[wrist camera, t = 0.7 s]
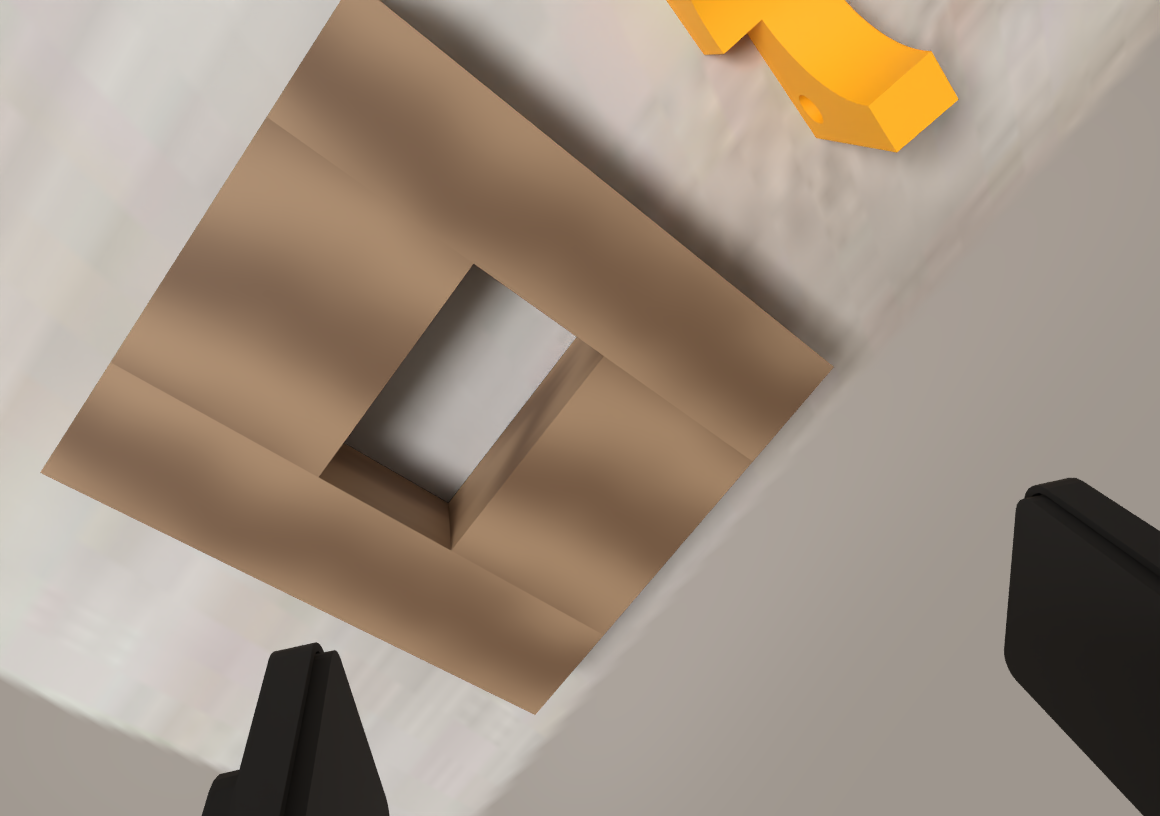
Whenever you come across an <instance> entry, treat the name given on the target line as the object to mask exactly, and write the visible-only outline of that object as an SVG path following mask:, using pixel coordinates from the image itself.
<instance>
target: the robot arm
mask: <svg viewBox="0 0 1160 816" xmlns="http://www.w3.org/2000/svg"><path fill="white" fill-rule="evenodd" d="M1004 655H1005V661H1006V664H1007V666H1008V668H1009V670H1010V672H1011V674H1012V676H1013V677H1014V678H1015V680H1016V681H1017V682H1018V683H1019V684H1020V685H1021V686H1022V687H1023V688H1024V689H1025V690H1026V691H1027V692H1028V693H1029V694H1030V696H1031V697H1032V698H1033V699H1034V700H1035V701H1036V702H1037V703H1038V704H1039V705H1040V706H1041V707H1042V708H1043V709H1044V710H1045V712H1046V713H1047V714H1048V715H1049V716H1050V717H1051V718H1052V719H1053V720H1054V721H1055V722H1056V723H1057V724H1058V725H1059V726H1060V727H1061V729H1062V730H1063V731H1064V732H1065V733H1066V734H1067V735H1068V736H1069V737H1070V738H1071V739H1072V740H1073V741H1074V742H1075V743H1076V744H1077V746H1079V748H1080V749H1081V750H1082V751H1083V752H1084V753H1085V754H1086V755H1087V756H1088V757H1089V758H1090V759H1091V760H1092V761H1093V762H1094V764H1096V766H1097V767H1098V768H1099V769H1100V770H1101V771H1102V772H1103V773H1104V774H1105V775H1106V776H1107V777H1108V778H1109V780H1111V782H1112V783H1113V784H1114V785H1115V786H1116V787H1117V788H1118V789H1119V790H1120V791H1121V792H1122V793H1123V794H1124V796H1125V797H1126V798H1127V799H1128V800H1129V801H1130V802H1131V803H1132V804H1133V805H1134V806H1135V807H1136V808H1137V809H1138V810H1139V811H1140V812H1141V814H1142V815H1143V816H1160V531H1159V530H1157V529H1156V528H1154V527H1153V526H1151V525H1149V524H1148V523H1146V522H1145V521H1143V520H1141V519H1140V518H1139V517H1137V516H1136V515H1134V514H1132V513H1131V512H1129V511H1128V510H1126V509H1125V508H1123V507H1122V506H1120V505H1118V504H1117V503H1116V502H1114V501H1113V500H1111V499H1109V498H1108V497H1106V496H1104V495H1103V494H1102V493H1100V492H1098V491H1097V490H1096V489H1094V488H1092V487H1091V486H1089V485H1088V484H1086V483H1085V482H1083V481H1081V480H1079V479H1077V478H1067V479H1062V480H1058V481H1053V482H1048V483H1044V484H1039V485H1035V486H1032V487H1031V488H1029V489H1028V490H1027V492H1026V494H1025V498H1024V499H1022V500H1020V501H1019V502H1018V504H1017V508H1016V514H1015V527H1014V538H1013V550H1012V563H1011V574H1010V587H1009V599H1008V610H1007V623H1006V634H1005V646H1004ZM202 816H389V809H388V804H387V800H386V796H385V793H384V790H383V787H382V784H381V781H380V778H379V775H378V772H377V769H376V766H375V763H374V760H373V756H372V753H371V750H370V747H369V744H368V741H367V738H366V735H365V732H364V729H363V726H362V723H361V720H360V717H359V714H358V711H357V708H356V704H355V701H354V698H353V695H352V692H351V689H350V686H349V683H348V680H347V677H346V674H345V671H344V668H343V665H342V662H341V659H340V656H339V654H338V652H337V651H335V650H333V651H329V652H324V651H323V649H322V647H321V646H320V644H319V643H311V644H307V645H302V646H298V647H293V648H289V649H284V650H279V651H275V652H273V653H272V654H271V655H270V658H269V660H268V664H267V668H266V672H265V676H264V679H263V683H262V687H261V691H260V694H259V698H258V702H257V706H256V709H255V713H254V717H253V721H252V725H251V728H250V732H249V736H248V740H247V743H246V747H245V751H244V755H243V758H242V762H241V766H240V770H236V771H232V772H227V773H223V774H219V775H218V776H217V777H216V779H215V780H214V781H213V783H212V786H211V788H210V790H209V793H208V796H207V800H206V803H205V806H204V810H203V813H202Z"/></svg>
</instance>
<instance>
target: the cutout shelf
mask: <svg viewBox="0 0 1160 816" xmlns="http://www.w3.org/2000/svg"><path fill="white" fill-rule="evenodd" d="M473 264H475V265H476V266H478V267H479V268H481V269H482V270H483V271H485V272H486V273H488V274H489V275H490V276H492V277H493V278H495V279H496V280H497V281H499V282H500V283H502V284H503V285H504V286H506V287H507V288H509V289H510V290H512V291H513V292H514V293H516V294H517V295H519V296H520V297H521V298H523V299H524V300H526V301H527V302H528V303H530V304H531V305H533V306H534V307H536V308H537V309H538V310H540V311H541V312H543V313H544V314H545V315H547V316H548V317H550V318H551V319H552V320H554V321H555V322H557V323H558V324H559V325H561V326H562V327H564V328H565V329H567V330H568V331H569V332H571V333H572V334H574V335H575V336H576V339H575V340H574V341H573V343H572V344H571V345H570V346H569V348H568V349H567V350H566V352H565V353H564V354H563V355H562V357H561V358H560V359H559V361H558V362H557V363H556V365H555V366H554V367H553V368H552V370H551V371H550V372H549V374H548V375H547V376H546V377H545V379H544V380H543V381H542V383H541V384H540V385H539V387H538V388H537V389H536V390H535V392H534V393H533V394H532V396H531V397H530V398H529V399H528V401H527V402H526V403H525V405H524V406H523V407H522V409H521V410H520V411H519V412H518V414H517V415H516V416H515V418H514V419H513V420H512V421H511V423H510V424H509V425H508V427H507V428H506V429H505V431H504V432H503V433H502V434H501V436H500V437H499V438H498V440H497V441H496V442H495V443H494V445H493V446H492V447H491V449H490V450H489V451H488V453H487V454H486V455H485V456H484V458H483V459H482V460H481V462H480V463H479V464H478V465H477V467H476V468H475V469H474V471H473V472H472V473H471V475H470V476H469V477H468V478H467V480H466V481H465V482H464V484H463V485H462V486H461V487H460V489H459V490H458V491H457V493H456V494H455V495H454V497H453V498H452V499H451V500H450V502H449V503H447V502H445V501H444V500H442V499H440V498H438V497H437V496H435V495H433V494H431V493H430V492H428V491H426V490H425V489H423V488H421V487H419V486H418V485H416V484H414V483H412V482H411V481H409V480H407V479H405V478H404V477H402V476H400V475H399V474H397V473H395V472H393V471H392V470H390V469H388V468H386V467H385V466H383V465H381V464H379V463H378V462H376V461H374V460H372V459H371V458H369V457H367V456H366V455H364V454H362V453H360V452H359V451H357V450H355V449H353V448H352V447H350V446H348V445H346V444H345V443H344V441H345V440H346V439H347V437H348V436H349V435H350V433H351V432H352V430H353V429H354V428H355V426H356V425H357V424H358V422H359V421H360V419H361V418H362V417H363V415H364V414H365V412H366V411H367V410H368V408H369V407H370V406H371V404H372V403H373V401H374V400H375V399H376V397H377V396H378V395H379V393H380V392H381V390H382V389H383V388H384V386H385V385H386V384H387V382H388V381H389V379H390V378H391V377H392V375H393V374H394V373H395V371H396V370H397V368H398V367H399V366H400V364H401V363H402V361H403V360H404V359H405V357H406V356H407V355H408V353H409V352H410V350H411V349H412V348H413V346H414V345H415V344H416V342H417V341H418V339H419V338H420V337H421V335H422V334H423V333H424V331H425V330H426V328H427V327H428V326H429V324H430V323H431V322H432V320H433V319H434V317H435V316H436V315H437V313H438V312H439V310H440V309H441V308H442V306H443V305H444V304H445V302H446V301H447V299H448V298H449V297H450V295H451V294H452V293H453V291H454V290H455V288H456V287H457V286H458V284H459V283H460V282H461V280H462V279H463V277H464V276H465V275H466V273H467V272H468V270H469V269H470V268H471V266H472V265H473ZM832 369H833V366H832V365H831V364H830V363H828V362H827V361H826V360H825V359H823V358H822V357H821V356H820V355H818V354H817V353H816V352H815V351H813V350H812V349H811V348H810V347H808V346H807V345H806V344H805V343H804V342H802V341H801V340H800V339H799V338H797V337H796V336H795V335H794V334H792V333H791V332H790V331H789V330H787V329H786V328H785V327H784V326H782V325H781V324H780V323H779V322H778V321H776V320H775V319H774V318H773V317H771V316H770V315H769V314H768V313H766V312H765V311H764V310H763V309H761V308H760V307H759V306H758V305H756V304H755V303H754V302H753V301H751V300H750V299H749V298H748V297H747V296H745V295H744V294H743V293H742V292H740V291H739V290H738V289H737V288H735V287H734V286H733V285H732V284H730V283H729V282H728V281H727V280H725V279H724V278H723V277H722V276H720V275H719V274H718V273H717V272H716V271H714V270H713V269H712V268H711V267H709V266H708V265H707V264H706V263H704V262H703V261H702V260H701V259H699V258H698V257H697V256H696V255H694V254H693V253H692V252H691V251H690V250H688V249H687V248H686V247H685V246H683V245H682V244H681V243H680V242H678V241H677V240H676V239H675V238H673V237H672V236H671V235H670V234H668V233H667V232H666V231H665V230H663V229H662V228H661V227H660V226H659V225H657V224H656V223H655V222H654V221H652V220H651V219H650V218H649V217H647V216H646V215H645V214H644V213H642V212H641V211H640V210H639V209H637V208H636V207H635V206H634V205H632V204H631V203H630V202H629V201H628V200H626V199H625V198H624V197H623V196H621V195H620V194H619V193H618V192H616V191H615V190H614V189H613V188H611V187H610V186H609V185H608V184H606V183H605V182H604V181H603V180H601V179H600V178H599V177H598V176H597V175H595V174H594V173H593V172H592V171H590V170H589V169H588V168H587V167H585V166H584V165H583V164H582V163H580V162H579V161H578V160H577V159H575V158H574V157H573V156H572V155H571V154H569V153H568V152H567V151H566V150H564V149H563V148H562V147H561V146H559V145H558V144H557V143H556V142H554V141H553V140H552V139H551V138H549V137H548V136H547V135H546V134H544V133H543V132H542V131H541V130H540V129H538V128H537V127H536V126H535V125H533V124H532V123H531V122H530V121H528V120H527V119H526V118H525V117H523V116H522V115H521V114H520V113H518V112H517V111H516V110H515V109H513V108H512V107H511V106H510V105H509V104H507V103H506V102H505V101H504V100H502V99H501V98H500V97H499V96H497V95H496V94H495V93H494V92H492V91H491V90H490V89H489V88H487V87H486V86H485V85H484V84H482V83H481V82H480V81H479V80H478V79H476V78H475V77H474V76H473V75H471V74H470V73H469V72H468V71H466V70H465V69H464V68H463V67H461V66H460V65H459V64H458V63H456V62H455V61H454V60H453V59H452V58H450V57H449V56H448V55H447V54H445V53H444V52H443V51H442V50H440V49H439V48H438V47H437V46H435V45H434V44H433V43H432V42H430V41H429V40H428V39H427V38H425V37H424V36H423V35H422V34H421V33H419V32H418V31H417V30H416V29H414V28H413V27H412V26H411V25H409V24H408V23H407V22H406V21H404V20H403V19H402V18H401V17H399V16H398V15H397V14H396V13H394V12H393V11H392V10H391V9H390V8H388V7H387V6H386V5H385V4H383V3H382V2H381V1H380V0H341V1H340V3H339V4H338V6H337V7H336V9H335V10H334V12H333V14H332V15H331V17H330V18H329V20H328V21H327V23H326V25H325V26H324V28H323V29H322V31H321V32H320V34H319V36H318V37H317V39H316V40H315V42H314V43H313V45H312V47H311V48H310V50H309V51H308V53H307V54H306V56H305V58H304V59H303V61H302V62H301V64H300V65H299V67H298V69H297V70H296V72H295V73H294V75H293V76H292V78H291V80H290V81H289V83H288V84H287V86H286V87H285V89H284V91H283V92H282V94H281V95H280V97H279V98H278V100H277V102H276V103H275V105H274V106H273V108H272V109H271V111H270V113H269V114H268V116H267V117H266V119H265V120H264V122H263V124H262V125H261V127H260V128H259V130H258V131H257V133H256V135H255V136H254V138H253V139H252V141H251V142H250V144H249V146H248V147H247V149H246V150H245V152H244V153H243V155H242V157H241V158H240V160H239V161H238V163H237V164H236V166H235V168H234V169H233V171H232V172H231V174H230V175H229V177H228V179H227V180H226V182H225V183H224V185H223V186H222V188H221V190H220V191H219V193H218V194H217V196H216V197H215V199H214V201H213V202H212V204H211V205H210V207H209V208H208V210H207V212H206V213H205V215H204V216H203V218H202V219H201V221H200V223H199V224H198V226H197V227H196V229H195V230H194V232H193V234H192V235H191V237H190V238H189V240H188V241H187V243H186V245H185V246H184V248H183V249H182V251H181V252H180V254H179V256H178V257H177V259H176V260H175V262H174V263H173V265H172V267H171V268H170V270H169V271H168V273H167V274H166V276H165V278H164V279H163V281H162V282H161V284H160V285H159V287H158V289H157V290H156V292H155V293H154V295H153V296H152V298H151V300H150V301H149V303H148V304H147V306H146V307H145V309H144V311H143V312H142V314H141V315H140V317H139V318H138V320H137V322H136V323H135V325H134V326H133V328H132V329H131V331H130V333H129V334H128V336H127V337H126V339H125V340H124V342H123V344H122V345H121V347H120V348H119V350H118V351H117V353H116V355H115V356H114V358H113V359H112V361H111V362H110V364H109V366H108V367H107V369H106V370H105V372H104V373H103V375H102V377H101V378H100V380H99V381H98V383H97V384H96V386H95V388H94V389H93V391H92V392H91V394H90V395H89V397H88V399H87V400H86V402H85V403H84V405H83V406H82V408H81V410H80V411H79V413H78V414H77V416H76V417H75V419H74V421H73V422H72V424H71V425H70V427H69V428H68V430H67V432H66V433H65V435H64V436H63V438H62V439H61V441H60V443H59V444H58V446H57V447H56V449H55V450H54V452H53V454H52V455H51V457H50V458H49V460H48V461H47V463H46V465H45V466H44V468H43V469H42V471H41V472H40V473H42V474H44V475H46V476H48V477H50V478H52V479H54V480H56V481H58V482H60V483H62V484H64V485H66V486H69V487H71V488H73V489H75V490H77V491H79V492H81V493H83V494H85V495H87V496H89V497H91V498H93V499H95V500H97V501H99V502H101V503H103V504H105V505H107V506H109V507H111V508H113V509H116V510H118V511H120V512H122V513H124V514H126V515H128V516H130V517H132V518H134V519H136V520H138V521H140V522H142V523H144V524H146V525H148V526H150V527H152V528H154V529H156V530H158V531H160V532H163V533H165V534H167V535H169V536H171V537H173V538H175V539H177V540H179V541H181V542H183V543H185V544H187V545H189V546H191V547H193V548H195V549H197V550H199V551H201V552H203V553H205V554H207V555H209V556H212V557H214V558H216V559H218V560H220V561H222V562H224V563H226V564H228V565H230V566H232V567H234V568H236V569H238V570H240V571H242V572H244V573H246V574H248V575H250V576H252V577H254V578H256V579H259V580H261V581H263V582H265V583H267V584H269V585H271V586H273V587H275V588H277V589H279V590H281V591H283V592H285V593H287V594H289V595H291V596H293V597H295V598H297V599H299V600H301V601H303V602H306V603H308V604H310V605H312V606H314V607H316V608H318V609H320V610H322V611H324V612H326V613H328V614H330V615H332V616H334V617H336V618H338V619H340V620H342V621H344V622H346V623H348V624H350V625H353V626H355V627H357V628H359V629H361V630H363V631H365V632H367V633H369V634H371V635H373V636H375V637H377V638H379V639H381V640H383V641H385V642H387V643H389V644H391V645H393V646H395V647H397V648H400V649H402V650H404V651H406V652H408V653H410V654H412V655H414V656H416V657H418V658H420V659H422V660H424V661H426V662H428V663H430V664H432V665H434V666H436V667H438V668H440V669H442V670H444V671H447V672H449V673H451V674H453V675H455V676H457V677H459V678H461V679H463V680H465V681H467V682H469V683H471V684H473V685H475V686H477V687H479V688H481V689H483V690H485V691H487V692H489V693H491V694H494V695H496V696H498V697H500V698H502V699H504V700H506V701H508V702H510V703H512V704H514V705H516V706H518V707H520V708H522V709H524V710H526V711H528V712H530V713H532V714H534V715H535V714H536V713H537V712H538V711H539V710H540V709H541V707H542V706H543V705H544V704H545V703H546V702H547V700H548V699H549V698H550V697H551V696H552V695H553V693H554V692H555V691H556V690H557V689H558V688H559V686H560V685H561V684H562V683H563V682H564V681H565V679H566V678H567V677H568V676H569V675H570V674H571V672H572V671H573V670H574V669H575V668H576V667H577V665H578V664H579V663H580V662H581V661H582V660H583V658H584V657H585V656H586V655H587V654H588V653H589V651H590V650H591V649H592V648H593V647H594V646H595V645H596V643H597V642H598V641H599V640H600V639H601V638H602V636H603V635H604V634H605V633H606V632H607V631H608V629H609V628H610V627H611V626H612V625H613V624H614V622H615V621H616V620H617V619H618V618H619V617H620V615H621V614H622V613H623V612H624V611H625V610H626V608H627V607H628V606H629V605H630V604H631V603H632V601H633V600H634V599H635V598H636V597H637V596H638V594H639V593H640V592H641V591H642V590H643V589H644V587H645V586H646V585H647V584H648V583H649V582H650V580H651V579H652V578H653V577H654V576H655V575H656V573H657V572H658V571H659V570H660V569H661V568H662V566H663V565H664V564H665V563H666V562H667V561H668V559H669V558H670V557H671V556H672V555H673V554H674V553H675V551H676V550H677V549H678V548H679V547H680V546H681V544H682V543H683V542H684V541H685V540H686V539H687V537H688V536H689V535H690V534H691V533H692V532H693V530H694V529H695V528H696V527H697V526H698V525H699V523H700V522H701V521H702V520H703V519H704V518H705V516H706V515H707V514H708V513H709V512H710V511H711V509H712V508H713V507H714V506H715V505H716V504H717V502H718V501H719V500H720V499H721V498H722V497H723V495H724V494H725V493H726V492H727V491H728V490H729V488H730V487H731V486H732V485H733V484H734V483H735V481H736V480H737V479H738V478H739V477H740V476H741V474H742V473H743V472H744V471H745V470H746V469H747V467H748V466H749V465H750V464H751V463H752V462H753V461H754V459H755V458H756V457H757V456H758V455H759V454H760V452H761V451H762V450H763V449H764V448H765V447H766V445H767V444H768V443H769V442H770V441H771V440H772V438H773V437H774V436H775V435H776V434H777V433H778V431H779V430H780V429H781V428H782V427H783V426H784V424H785V423H786V422H787V421H788V420H789V419H790V417H791V416H792V415H793V414H794V413H795V412H796V410H797V409H798V408H799V407H800V406H801V405H802V403H803V402H804V401H805V400H806V399H807V398H808V396H809V395H810V394H811V393H812V392H813V391H814V389H815V388H816V387H817V386H818V385H819V384H820V382H821V381H822V380H823V379H824V378H825V377H826V376H827V374H828V373H829V372H830V371H831V370H832Z"/></svg>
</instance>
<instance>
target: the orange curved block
mask: <svg viewBox="0 0 1160 816" xmlns="http://www.w3.org/2000/svg"><path fill="white" fill-rule="evenodd" d="M666 1H667V2H668V3H669V5H670V6H671V8H672V9H673V11H674V12H675V14H676V15H677V16H678V18H679V19H680V21H681V22H682V24H683V25H684V26H685V28H686V29H687V31H688V32H689V34H690V35H691V37H692V38H693V39H694V41H695V42H696V44H697V45H698V47H699V48H700V49H701V51H702V52H703V54H704V55H710V54H724V53H725V52H727V51H728V50H729V49H730V48H731V47H732V46H733V45H734V44H735V43H737V42H738V41H739V40H740V39H741V38H742V37H743V36H744V35H745V34H746V33H747V34H748V36H749V37H750V39H751V40H752V42H753V43H754V45H755V46H756V48H757V49H758V51H759V52H760V54H761V55H762V57H763V58H764V60H765V61H766V63H767V64H768V66H769V67H770V69H771V70H772V72H773V73H774V75H775V76H776V78H777V79H778V81H779V82H780V84H781V85H782V87H783V88H784V90H785V91H786V93H787V94H788V96H789V98H790V99H791V101H792V102H793V104H794V105H795V107H796V108H797V110H798V111H799V113H800V114H801V116H802V117H803V119H804V120H805V122H806V123H807V125H808V126H809V128H810V129H811V131H812V132H813V134H814V135H815V137H816V138H820V139H826V140H831V141H837V142H842V143H848V144H853V145H859V146H864V147H870V148H875V149H881V150H886V151H892V152H898V151H899V150H900V149H901V148H903V147H904V146H905V145H906V144H907V143H908V142H910V141H911V140H912V139H913V138H914V137H915V136H917V135H918V134H919V133H920V132H921V131H922V130H924V129H925V128H926V127H927V126H928V125H929V124H931V123H932V122H933V121H934V120H935V119H936V118H938V117H939V116H940V115H941V114H942V113H943V112H945V111H946V110H947V109H948V108H949V107H950V106H952V105H953V104H954V103H955V102H956V101H957V100H959V99H958V97H957V96H956V94H955V92H954V90H953V89H952V87H951V85H950V83H949V81H948V80H947V78H946V76H945V74H944V73H943V71H942V69H941V67H940V66H939V64H938V62H937V60H936V58H935V57H934V55H933V53H932V51H923V50H917V49H914V48H910V47H907V46H905V45H902V44H900V43H898V42H896V41H894V40H892V39H890V38H889V37H887V36H886V35H884V34H883V33H881V32H880V31H878V30H877V29H875V28H874V27H873V26H871V25H870V24H869V23H868V22H867V21H865V20H864V19H863V18H862V17H861V16H860V15H859V14H858V13H857V12H856V11H854V10H853V8H852V7H851V6H850V5H849V4H848V3H847V2H846V1H845V0H666Z"/></svg>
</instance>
